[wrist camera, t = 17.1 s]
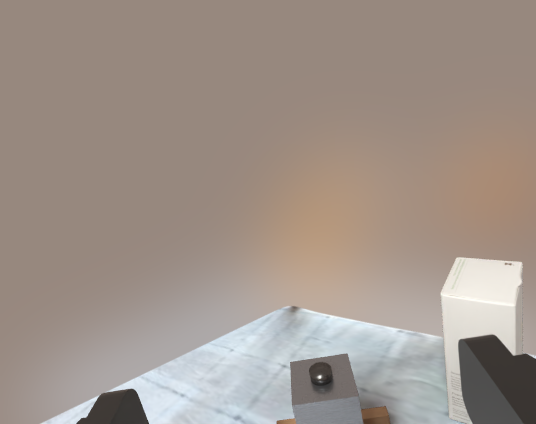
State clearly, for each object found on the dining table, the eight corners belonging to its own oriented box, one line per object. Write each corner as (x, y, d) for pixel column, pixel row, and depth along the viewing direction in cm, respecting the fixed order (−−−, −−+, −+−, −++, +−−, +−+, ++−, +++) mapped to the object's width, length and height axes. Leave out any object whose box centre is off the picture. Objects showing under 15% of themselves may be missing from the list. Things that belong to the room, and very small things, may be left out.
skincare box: (463, 371, 48) (454, 254, 44) (527, 386, 44) (525, 259, 40) (447, 421, 42) (435, 291, 37) (521, 444, 38) (517, 301, 34)
